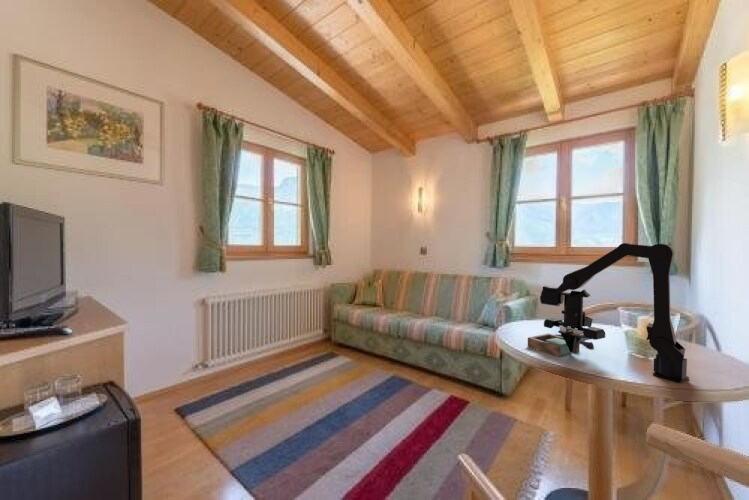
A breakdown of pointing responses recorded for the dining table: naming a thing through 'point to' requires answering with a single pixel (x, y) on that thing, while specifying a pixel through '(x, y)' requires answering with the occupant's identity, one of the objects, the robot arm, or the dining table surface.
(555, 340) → the pale green block
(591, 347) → the bracket
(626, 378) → the dining table surface
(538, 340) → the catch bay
